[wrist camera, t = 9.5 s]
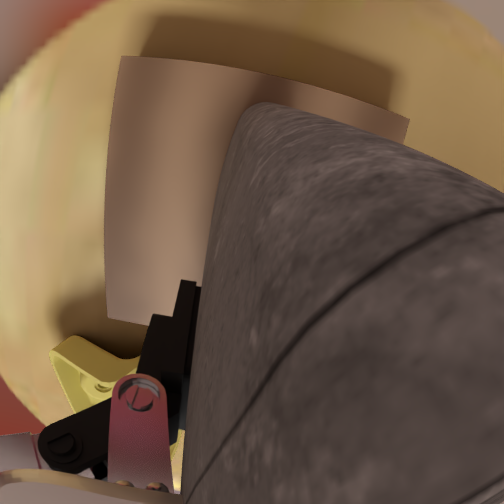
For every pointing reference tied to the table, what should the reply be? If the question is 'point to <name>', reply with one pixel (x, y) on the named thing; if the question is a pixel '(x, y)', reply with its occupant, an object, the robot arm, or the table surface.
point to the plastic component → (90, 374)
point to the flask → (346, 324)
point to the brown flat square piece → (186, 167)
